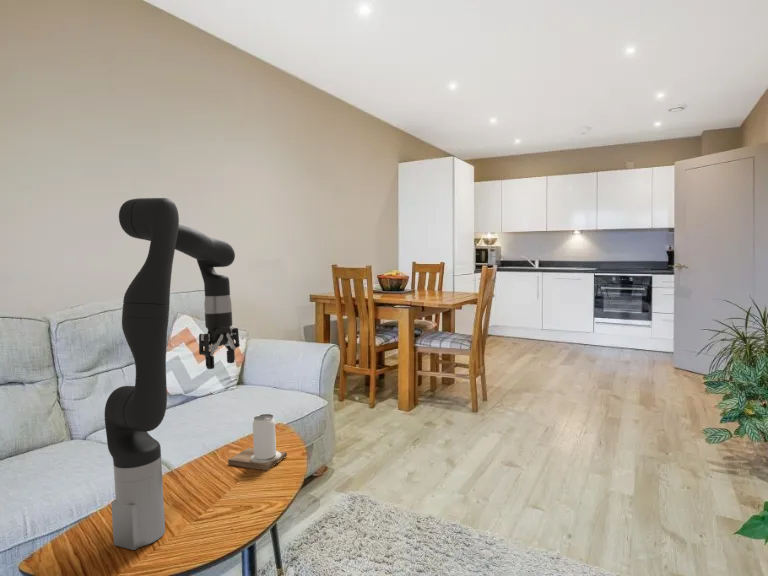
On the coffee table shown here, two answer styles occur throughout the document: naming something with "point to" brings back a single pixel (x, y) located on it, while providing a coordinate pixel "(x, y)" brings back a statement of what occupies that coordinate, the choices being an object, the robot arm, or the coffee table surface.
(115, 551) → the coffee table surface
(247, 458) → the board
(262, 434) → the can
